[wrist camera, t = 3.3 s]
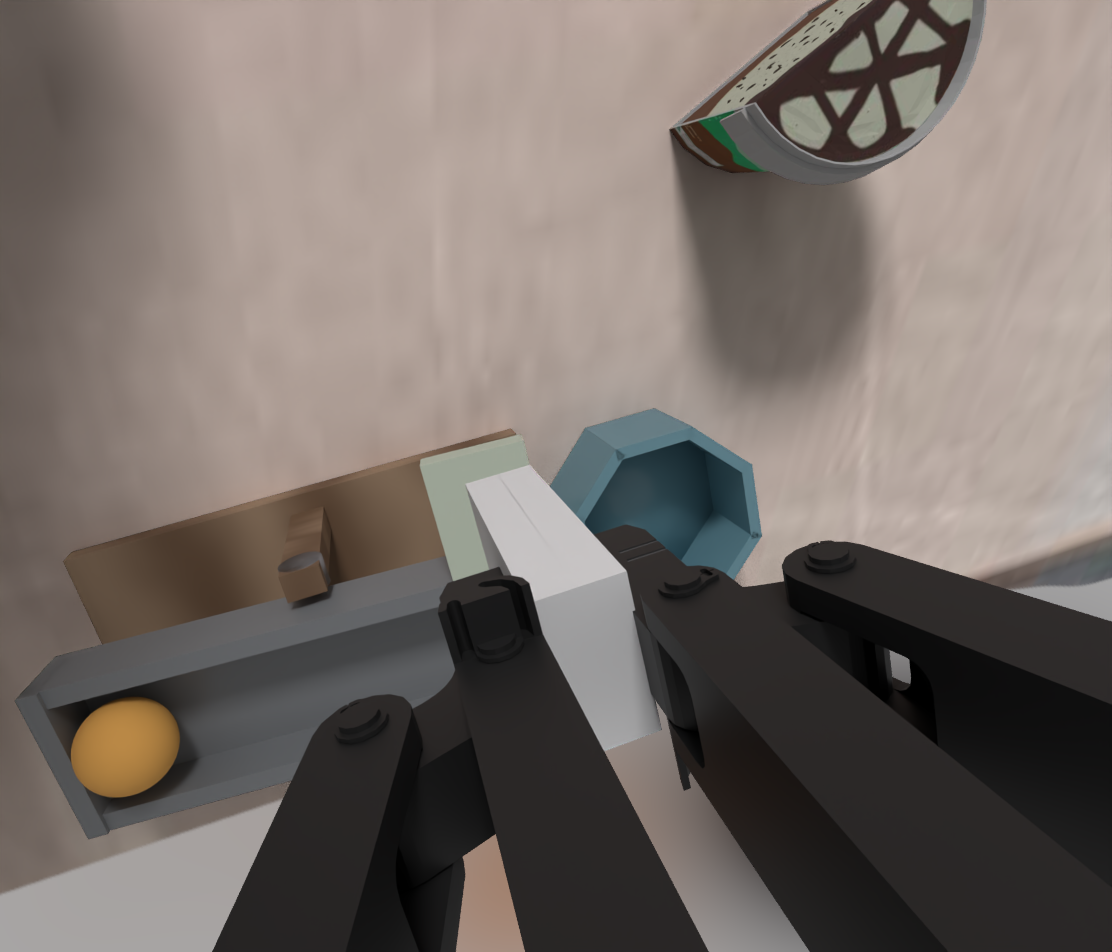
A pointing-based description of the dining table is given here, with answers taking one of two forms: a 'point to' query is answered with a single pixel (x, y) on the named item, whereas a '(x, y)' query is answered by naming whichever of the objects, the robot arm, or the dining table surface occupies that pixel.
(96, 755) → the ball
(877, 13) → the food container
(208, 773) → the trough
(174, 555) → the stand
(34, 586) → the dining table surface
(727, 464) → the cup
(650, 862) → the robot arm
